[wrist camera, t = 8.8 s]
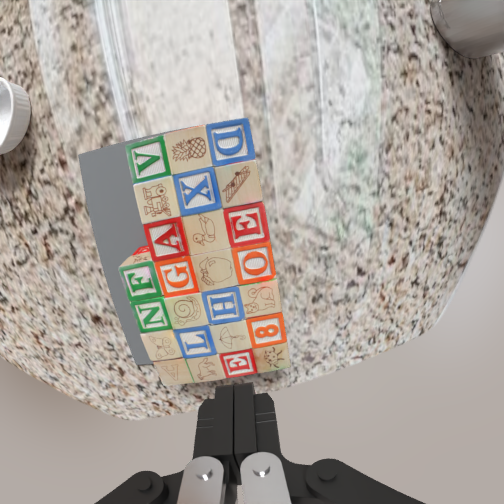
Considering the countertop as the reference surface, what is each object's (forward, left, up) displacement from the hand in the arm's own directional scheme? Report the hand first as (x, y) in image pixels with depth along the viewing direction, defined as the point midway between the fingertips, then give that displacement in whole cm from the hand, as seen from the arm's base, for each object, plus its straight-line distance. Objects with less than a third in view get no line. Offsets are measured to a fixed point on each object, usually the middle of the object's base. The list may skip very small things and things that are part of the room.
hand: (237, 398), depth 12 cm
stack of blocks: (-3, -1, -16) cm, 16 cm away
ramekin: (+23, -19, -20) cm, 36 cm away
